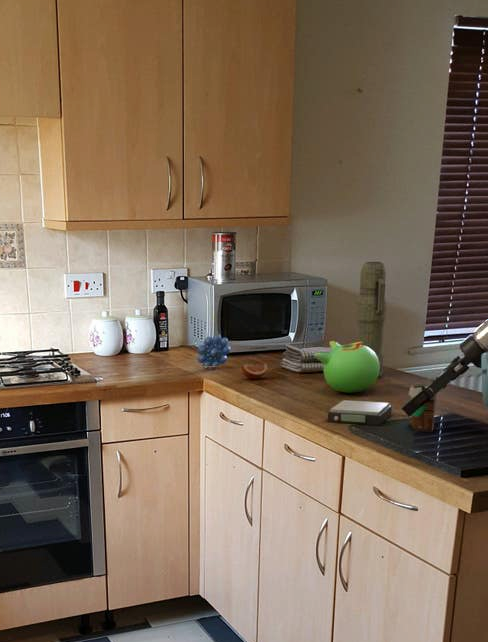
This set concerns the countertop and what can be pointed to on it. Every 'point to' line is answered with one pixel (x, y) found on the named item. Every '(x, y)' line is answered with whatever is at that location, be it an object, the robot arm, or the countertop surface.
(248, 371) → the fruit slice
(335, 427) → the countertop surface
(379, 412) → the kitchen scale
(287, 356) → the towel
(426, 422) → the food container
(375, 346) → the thermos
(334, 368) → the toy bird
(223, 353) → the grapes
